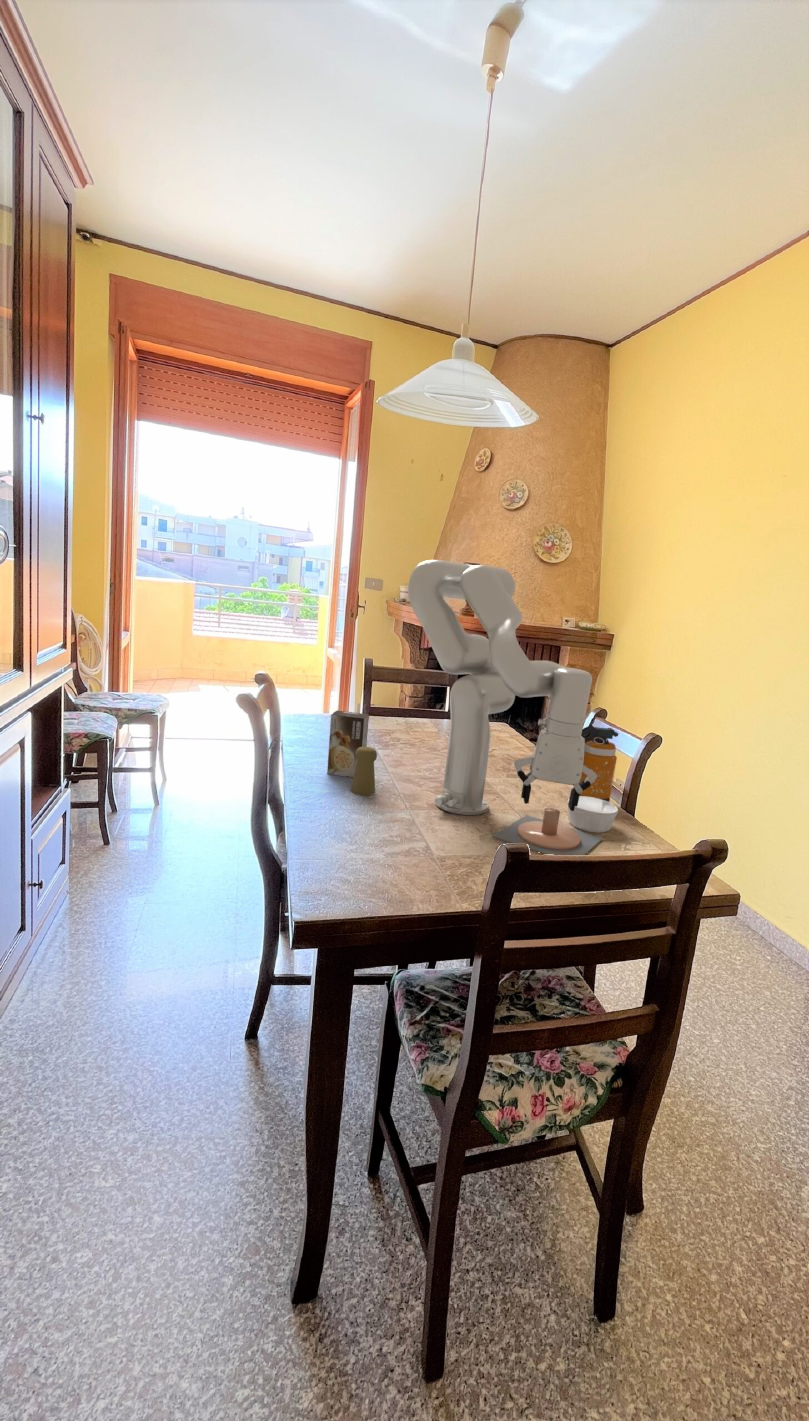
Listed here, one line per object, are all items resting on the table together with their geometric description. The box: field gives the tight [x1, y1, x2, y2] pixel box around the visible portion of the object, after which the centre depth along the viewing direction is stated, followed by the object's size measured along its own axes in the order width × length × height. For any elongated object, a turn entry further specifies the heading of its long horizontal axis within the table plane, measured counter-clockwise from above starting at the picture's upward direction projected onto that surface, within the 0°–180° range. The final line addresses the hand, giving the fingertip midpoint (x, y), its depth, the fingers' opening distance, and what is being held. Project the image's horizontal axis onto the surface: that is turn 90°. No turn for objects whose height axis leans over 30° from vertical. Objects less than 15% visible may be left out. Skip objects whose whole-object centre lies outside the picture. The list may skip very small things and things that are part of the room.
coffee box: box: [326, 710, 370, 778], centre depth 164 cm, size 9×6×16 cm
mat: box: [491, 814, 604, 856], centre depth 134 cm, size 18×18×1 cm
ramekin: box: [566, 796, 619, 834], centre depth 145 cm, size 11×11×5 cm
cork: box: [350, 746, 378, 796], centre depth 152 cm, size 6×6×11 cm
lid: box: [518, 807, 580, 850], centre depth 134 cm, size 13×13×6 cm
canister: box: [579, 724, 619, 802], centre depth 161 cm, size 9×11×20 cm
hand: (548, 805), depth 134 cm, fingers open, 9 cm apart
